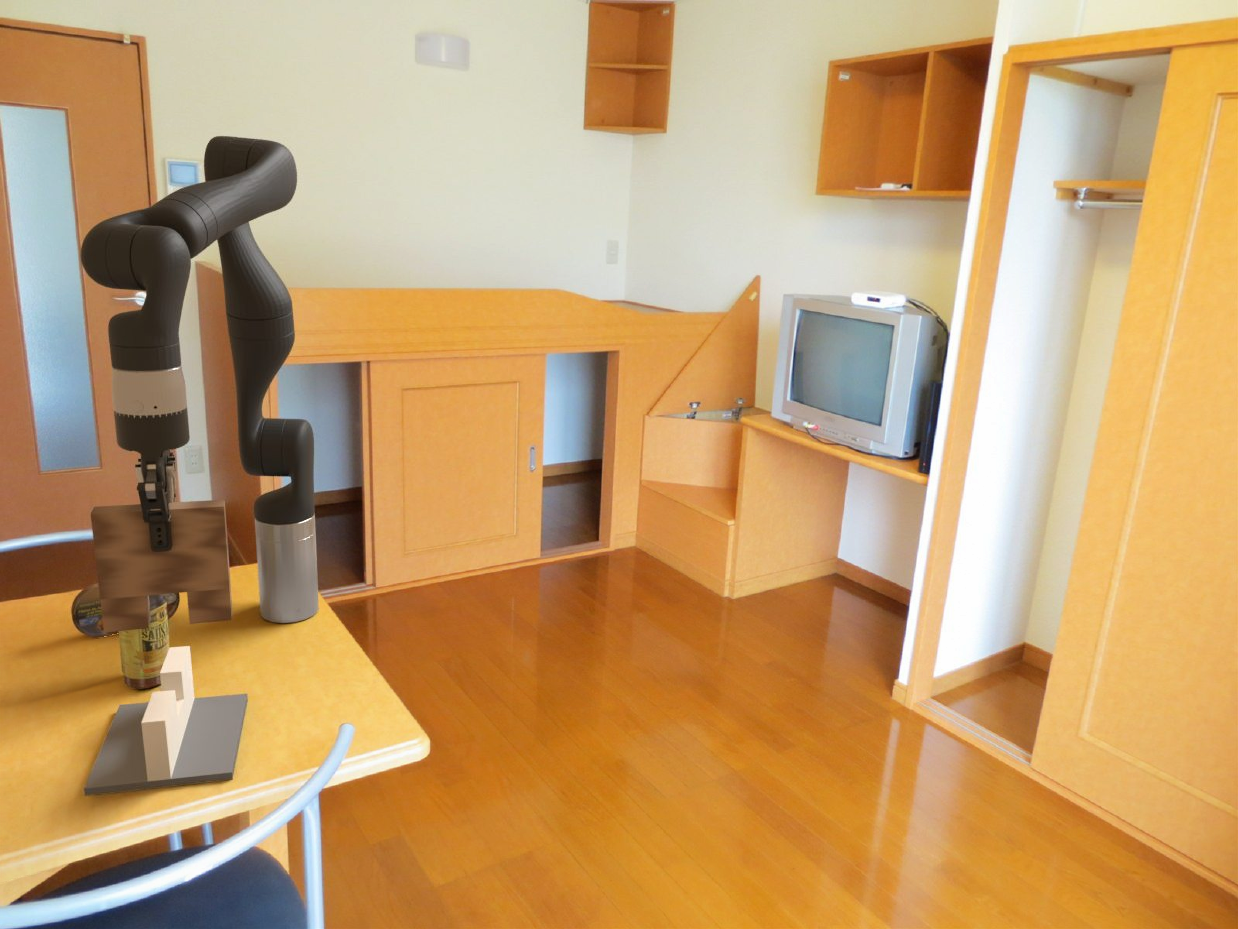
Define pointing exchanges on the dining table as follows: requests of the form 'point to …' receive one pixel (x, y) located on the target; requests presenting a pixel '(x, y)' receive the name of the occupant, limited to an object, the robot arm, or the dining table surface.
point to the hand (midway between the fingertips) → (163, 545)
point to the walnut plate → (162, 563)
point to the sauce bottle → (146, 648)
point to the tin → (90, 612)
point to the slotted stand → (170, 736)
